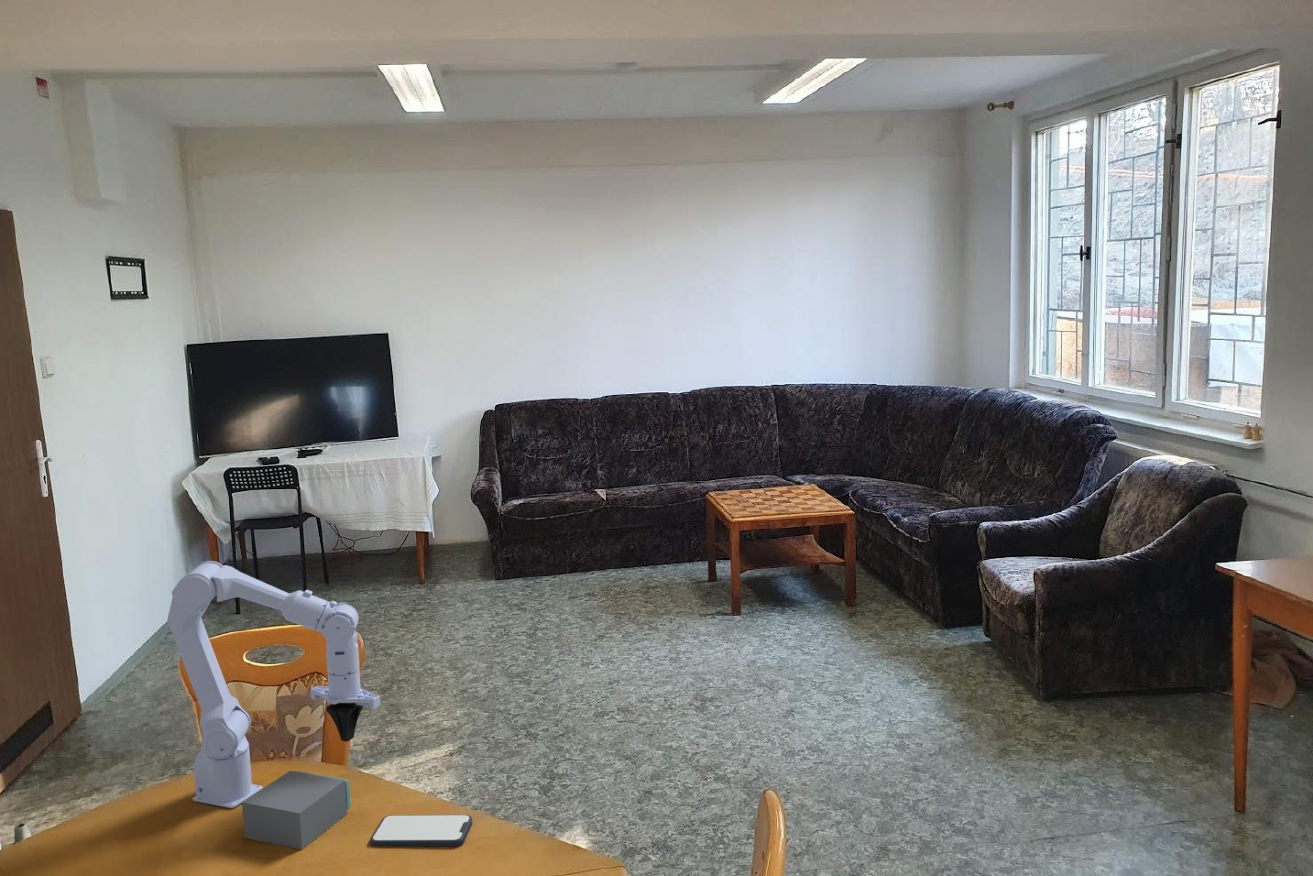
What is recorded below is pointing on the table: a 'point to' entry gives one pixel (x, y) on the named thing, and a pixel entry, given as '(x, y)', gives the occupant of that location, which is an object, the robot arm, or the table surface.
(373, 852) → the table surface
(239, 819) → the table surface
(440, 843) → the smartphone
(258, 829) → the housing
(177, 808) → the table surface
